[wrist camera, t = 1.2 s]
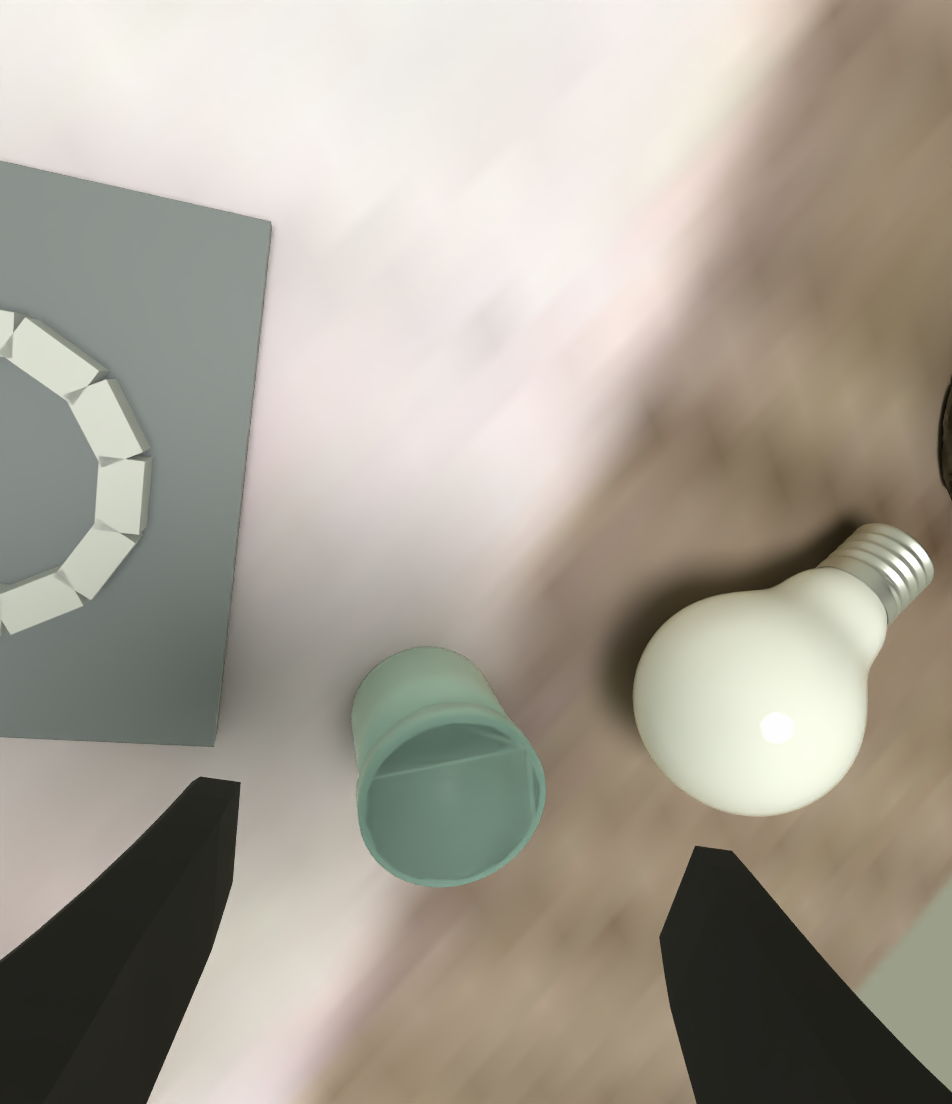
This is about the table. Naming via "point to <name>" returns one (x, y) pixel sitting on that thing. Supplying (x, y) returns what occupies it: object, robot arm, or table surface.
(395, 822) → the cup
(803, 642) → the lightbulb
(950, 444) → the pillar candle
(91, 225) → the socket board
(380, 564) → the table surface
